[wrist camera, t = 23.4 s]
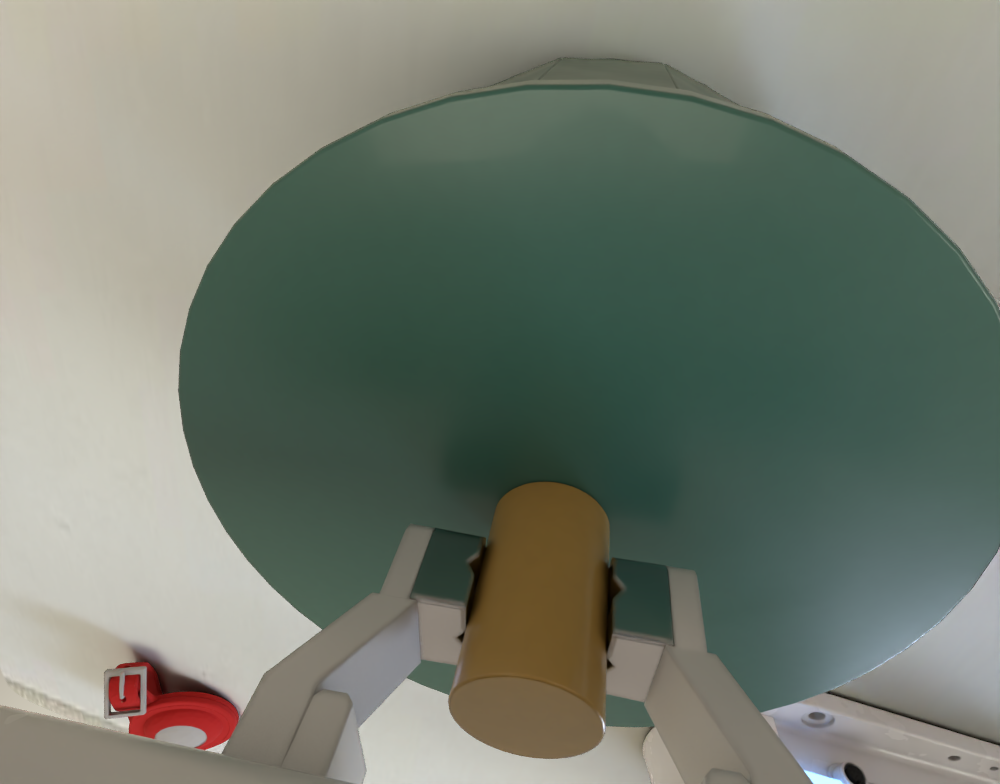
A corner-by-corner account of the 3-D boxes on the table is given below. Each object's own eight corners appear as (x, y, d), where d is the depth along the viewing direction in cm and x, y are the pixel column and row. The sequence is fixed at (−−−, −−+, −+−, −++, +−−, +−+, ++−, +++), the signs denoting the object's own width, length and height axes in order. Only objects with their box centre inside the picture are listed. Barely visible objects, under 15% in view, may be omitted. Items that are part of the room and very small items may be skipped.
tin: (880, 73, 16) (1043, 122, 10) (737, 468, 25) (774, 630, 19) (373, 45, 18) (236, 71, 12) (403, 420, 27) (333, 552, 21)
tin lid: (1251, 115, 7) (2108, 277, 3) (808, 730, 17) (873, 980, 12) (102, 40, 9) (-337, 77, 5) (281, 629, 18) (180, 816, 14)
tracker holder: (256, 728, 47) (191, 781, 50) (266, 676, 51) (204, 729, 54) (103, 688, 41) (39, 751, 44) (126, 632, 45) (66, 694, 48)
